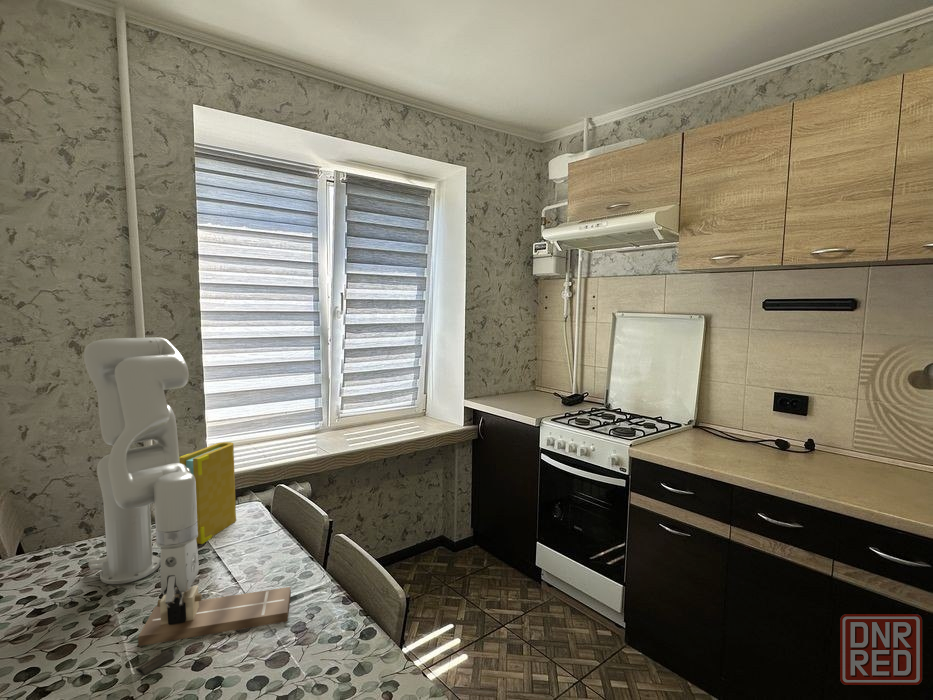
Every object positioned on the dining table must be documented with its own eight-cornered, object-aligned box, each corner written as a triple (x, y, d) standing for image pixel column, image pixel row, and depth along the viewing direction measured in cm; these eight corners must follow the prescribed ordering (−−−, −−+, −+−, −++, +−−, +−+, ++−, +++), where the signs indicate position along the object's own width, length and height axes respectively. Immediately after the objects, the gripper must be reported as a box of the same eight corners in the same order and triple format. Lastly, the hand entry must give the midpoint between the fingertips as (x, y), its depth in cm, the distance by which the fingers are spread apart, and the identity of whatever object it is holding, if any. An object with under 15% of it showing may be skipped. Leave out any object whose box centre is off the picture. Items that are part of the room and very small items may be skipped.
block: (136, 675, 90) (134, 666, 89) (168, 654, 95) (167, 645, 95) (146, 680, 88) (144, 671, 88) (179, 658, 93) (177, 649, 93)
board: (138, 646, 96) (138, 636, 95) (155, 615, 105) (155, 606, 105) (287, 621, 103) (287, 612, 103) (290, 594, 113) (290, 586, 113)
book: (202, 544, 137) (198, 459, 135) (182, 541, 139) (178, 457, 136) (241, 519, 154) (238, 442, 152) (222, 517, 155) (220, 441, 153)
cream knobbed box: (155, 625, 99) (154, 602, 98) (162, 612, 103) (161, 590, 103) (198, 619, 101) (197, 596, 101) (204, 606, 105) (203, 584, 105)
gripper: (185, 549, 93) (189, 637, 95) (206, 514, 110) (209, 590, 111) (141, 554, 91) (146, 645, 93) (169, 517, 108) (173, 595, 109)
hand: (180, 614), depth 102 cm, fingers closed on cream knobbed box, 4 cm apart
